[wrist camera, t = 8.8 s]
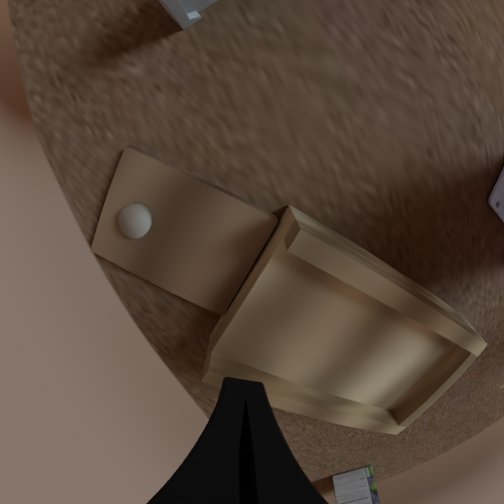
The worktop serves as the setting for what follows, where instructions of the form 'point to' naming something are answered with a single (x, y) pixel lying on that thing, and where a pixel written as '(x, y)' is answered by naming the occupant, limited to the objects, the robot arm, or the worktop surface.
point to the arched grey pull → (185, 10)
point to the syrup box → (356, 487)
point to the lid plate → (180, 230)
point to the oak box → (338, 332)
